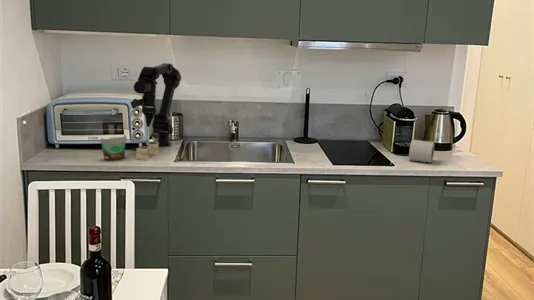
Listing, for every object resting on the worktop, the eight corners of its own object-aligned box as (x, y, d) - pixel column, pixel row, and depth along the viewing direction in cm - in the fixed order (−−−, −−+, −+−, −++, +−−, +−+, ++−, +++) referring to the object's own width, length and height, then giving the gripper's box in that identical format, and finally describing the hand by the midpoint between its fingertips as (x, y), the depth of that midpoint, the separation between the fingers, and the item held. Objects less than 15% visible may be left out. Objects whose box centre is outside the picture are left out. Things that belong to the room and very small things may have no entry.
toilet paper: (432, 160, 253) (435, 140, 251) (429, 165, 244) (432, 144, 242) (411, 157, 257) (413, 137, 255) (408, 162, 248) (410, 141, 246)
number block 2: (147, 152, 251) (147, 141, 250) (158, 151, 252) (158, 141, 251) (148, 155, 246) (147, 144, 245) (158, 154, 247) (158, 143, 246)
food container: (106, 162, 231) (105, 140, 229) (100, 159, 236) (99, 138, 233) (132, 158, 239) (131, 137, 236) (126, 155, 243) (125, 134, 241)
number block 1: (141, 156, 243) (140, 145, 242) (151, 157, 242) (151, 146, 241) (136, 159, 238) (136, 148, 237) (147, 160, 237) (146, 149, 236)
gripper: (132, 92, 253) (131, 124, 254) (131, 93, 235) (129, 127, 236) (155, 93, 255) (154, 125, 257) (156, 94, 237) (154, 128, 239)
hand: (148, 126), depth 247 cm, fingers closed
